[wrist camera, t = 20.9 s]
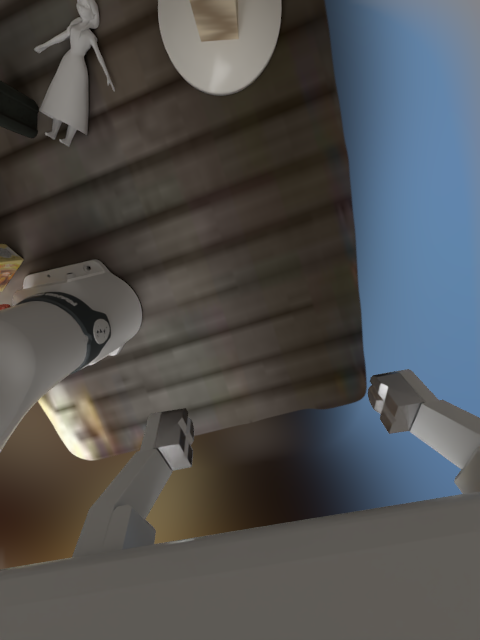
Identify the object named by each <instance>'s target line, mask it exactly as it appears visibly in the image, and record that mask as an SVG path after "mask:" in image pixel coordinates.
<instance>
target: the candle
mask: <svg viewBox="0 0 480 640" xmlns="http://www.w3.org/2000/svg"><path fill="white" fill-rule="evenodd" d="M37 112H38V106H37V104H36V103H35V101H33V100H32V99H30V98H29V97H27V96H25V95H24V94H22V93H20V92H19V91H17V90H15V89H14V88H12V87H10V86H9V85H7V84H5V83H4V82H2V81H0V126H1V127H4V128H6V129H8V130H11V131H13V132H16V133H19V134H21V135H24V136H27V137H29V138H34V137H36V135H37V132H38V131H37V130H36V128H37Z"/></svg>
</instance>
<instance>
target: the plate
mask: <svg viewBox="0 0 480 640" xmlns="http://www.w3.org/2000/svg"><path fill="white" fill-rule="evenodd" d="M281 10H282V7H281V0H238V29H239V39H233V40H218V41H204V42H201V39H200V36H199V32H198V29H197V25H196V22H195V18H194V15H193V11H192V8H191V4H190V1H189V0H158V19H159V26H160V32H161V36H162V40H163V43H164V46H165V49H166V51H167V53H168V55H169V57H170V59H171V61H172V63H173V65H174V67H175V68H176V70H177V71H178V73H179V74H180V75H181V76H182V78H183V79H184V80H185V81H186V82H187V83H189V84H190V85H191V86H193V87H194V88H195V89H197V90H199V91H201V92H203V93H206V94H210V95H215V96H225V95H231V94H234V93H237V92H239V91H241V90H243V89H245V88H246V87H248V86H249V85H251V84H252V83H253V82H254V81H255V80H256V79H257V78H258V77H259V76H260V75H261V74H262V72H263V71H264V69H265V68H266V66H267V65H268V63H269V61H270V59H271V57H272V55H273V52H274V50H275V47H276V43H277V40H278V36H279V30H280V23H281Z"/></svg>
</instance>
